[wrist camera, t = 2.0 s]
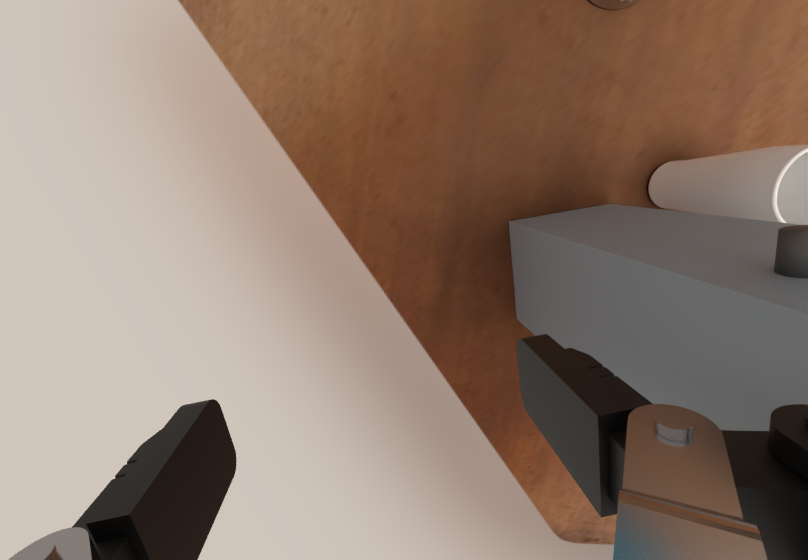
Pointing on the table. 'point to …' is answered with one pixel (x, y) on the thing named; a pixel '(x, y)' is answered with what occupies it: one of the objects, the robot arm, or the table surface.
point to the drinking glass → (738, 184)
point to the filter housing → (674, 304)
